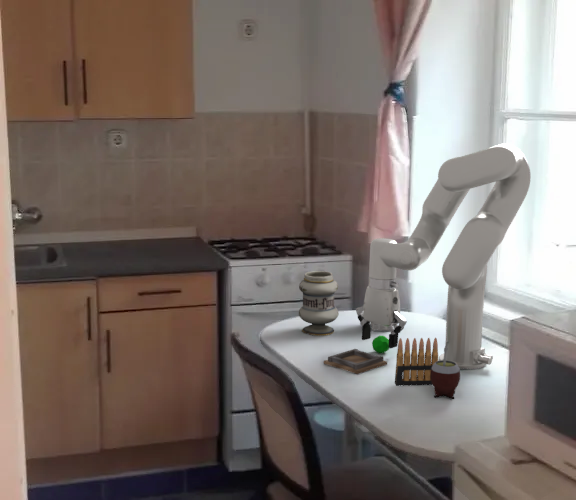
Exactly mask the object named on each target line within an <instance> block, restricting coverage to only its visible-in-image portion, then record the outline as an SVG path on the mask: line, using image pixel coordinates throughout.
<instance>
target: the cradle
mask: <svg viewBox="0 0 576 500" xmlns="http://www.w3.org/2000/svg"><path fill="white" fill-rule="evenodd" d="M323 364H324V365H327V366H331V367H333V368H337V369H340V370H343V371H346V372H350V373H353V374H355V375H356V374H357V375H360V374H363V373H365V372H369V371H372V370H374V369H378V368H381V367H383V366H387V365H388V361H387V360H384V356H382V355H376V354H372V353H369V352H365V351H363V350H360V349H357V348H354V349H350V350H346V351H344V352H339V353H337V354H333V355H331V356H328V357H327V359H325V360H323Z"/></svg>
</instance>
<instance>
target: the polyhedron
mask: <svg viewBox="0 0 576 500" xmlns="http://www.w3.org/2000/svg"><path fill="white" fill-rule="evenodd" d="M371 345H372V349H373V351H374V352H375V353H377V354H381V355H383V354H384V353H386V352H388V351H389V350H390V348H389V347H388V345H389V338H388V337H386V336H385V335H378V336H376V337H374V339H372V342H371Z"/></svg>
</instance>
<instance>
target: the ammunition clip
mask: <svg viewBox="0 0 576 500" xmlns="http://www.w3.org/2000/svg"><path fill="white" fill-rule="evenodd" d="M404 344H405V345H404ZM404 344H403V340H402V337H400V338H398V344H397V352H396V365H395V374H394V375H395V376H394V384H395V386H399V385H400V386H399V387H401V385H403V386H404V385H408V386H410V385H411V386H433V385H432V382H431V379H430V374H431V369H432V366H433V364H434V363H435V362H437V361H439V351H438V350H439V349H438V348H439V346H438V339H437V337H434V340H433V342H432V343H431V339H430V337H427V340H426V344H425V343H424V339H423V337H421V338H420V340H419V343H417V338H416V337H414V338H413V340H412V346H411V344H410V339H409V337H407V338H406V340H405V343H404ZM418 344H419V345H418ZM403 345H404V346H403ZM424 345H425V346H424ZM403 347H404V349H403ZM431 349H432V350H431ZM403 350H404V351H403ZM411 386H410V387H411Z"/></svg>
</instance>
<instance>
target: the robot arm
mask: <svg viewBox="0 0 576 500" xmlns="http://www.w3.org/2000/svg"><path fill="white" fill-rule="evenodd" d="M492 183H494V185H493V187H492V189H491V190H490V192H489V194H488V195H487V197H486V199H485V201H484V203H483V204H482V206H481V208H480V209H479V211H478V212H477V214H476V215H475V216H474V217H472V218H471V219H469V220H468V222H466V224H465V226H464V227H463V228H462V230H461V232H460V234H459V235H458V237H457V239H456V240H455V242H454V244H453V246H452V247H451V249H450V250H449V253H448V255H447V256H446V258H445V259H444V262H443V264H442V268H441V273H442V274H441V275H442V278H443V280H444V281H445V283H446V284H447V285H448V288H447V299H446V300H447V301H446V303H447V305H446V320H445V341H444V344H445V345H446V342H449V343H448V347H447V348H448V350H447V355H446V361H452V362H455V363H456V364H457V365H458V367H459V369H460V370H477V369H482V368H484V367H486V366H487V365H491V364H493V363H492V362H493V357H494V356H493V355H490V354H486V350H485V349H486V348H485V347H482V343H483V342H482V339H483V321H484V306H485V305H484V304H485V288H486V281H487V273H488V263H489V261H490V259H491V258H492V256H493V254H494V252H495V251H496V250H497V248H498V246H499V245H500V244H501V243H502V242H503V240H504V238H505V237H506V236H505V235H506V234H507V232H508V230H509V228H510V226H511V224H512V223H513V221H514V219H515V217H516V216H517V214H518V212H519V210H520V208H521V206H522V204H523V203H524V201H525V199H526V197H527V194H528V192H529V189H530V185H531V169H530V165H529V162H528V160H527V158H526V156H525V154H524V153H523V152H522V151H521V149H520V148H518V147H516V146H515V145H514V144H510V143H501V144H498V145H494V146H491V147H488V148H485V149H482V150H479V151H476V152H472V153H469V154H465V155H462V156H456V157H453V158H449V159H447V160H446V161H444V162H443V163H442V164H441V166H440V168H439V170H438V172H437V180H436V181H435V183H434V185H433V187H432V189H431V190H430V192H429V193H428V195H427V196H426V198H425V200H424V201H423V204H422V209H421V210H422V213H421V216H420V219H419V221H418V223H417V224H416V227H415V228H414V230H413V232H412V233H411V235H410V236H409V238H408V239H407V240H406V241H404V242H401V243H400V242H399V243H398V242H397V241H396V240H394V239H392V238H383V237H382V238H381V237H380V238H374V239H373V240H372V241H371V242H370V244H369V245H370V247H369V267H368V268H369V269H368V285H367V287H366V290H365V294H364V299H363V305H362V306H361V305H360V306H359V307H357V308H355V312H356V315H357V319H358V321H359V322H360V323H359V325H360V326H361V340H362V341H366V340H369V339H371V336H372V335H371V334H372V326H371V322H372V323H376V324H379V325H383V326H387V327H388V328H389V330H390V331H389V332H390V333H389V334H388V340H389V345H388V347H389V349H393V348H398V343H399V334H401V332H402V331H403V330H404V328H405V326H406V325H407V323H408V322H407V321H408V320H407V319H406V318H405V317H404V316H403V315H401V300H400V294H399V289H397V288H398V287H399V283H398V282H397V273H398V272H397V271H398V270H403V271H413V270H416V269H418V268H419V267H420V266H422V264H424V263H425V262H426V261H427V260H428V259H429V258H430V257H431V255H432V253H433V252H434V250H435V249H436V247H437V245H438V244H439V242H440V241H441V238H442V237H443V235H444V233H445V231H446V230H447V228H448V226H450V224H451V221H452V220H453V218H454V216H455V214H456V213H457V210H458V209H459V208H460V206H461V204H462V203H463V201H464V199H465V198H466V196H467V194H468V193H469V191H470V190H471V189H474V188H478V187H481V186H484V185H489V184H492ZM397 269H398V270H397ZM441 360H444V353H441V354H440V355H438V361H441Z"/></svg>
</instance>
